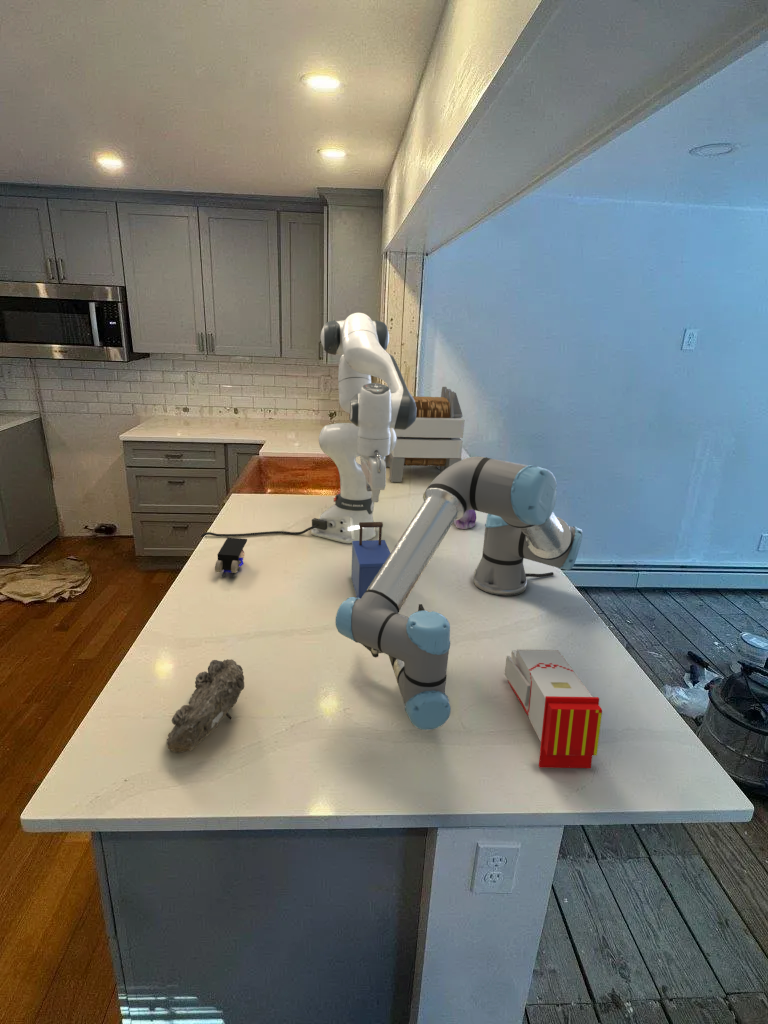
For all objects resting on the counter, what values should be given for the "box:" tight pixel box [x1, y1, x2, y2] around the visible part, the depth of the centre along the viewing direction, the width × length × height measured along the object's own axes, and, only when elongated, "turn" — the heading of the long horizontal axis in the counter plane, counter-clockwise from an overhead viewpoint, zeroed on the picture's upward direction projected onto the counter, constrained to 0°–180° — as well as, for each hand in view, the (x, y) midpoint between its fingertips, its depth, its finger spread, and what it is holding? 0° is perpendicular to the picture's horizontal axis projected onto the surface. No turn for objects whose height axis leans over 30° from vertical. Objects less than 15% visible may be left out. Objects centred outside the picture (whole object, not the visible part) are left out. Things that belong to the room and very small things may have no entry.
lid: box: [351, 521, 391, 567], centre depth 155 cm, size 16×10×8 cm, turn 10°
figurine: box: [453, 510, 477, 530], centre depth 208 cm, size 9×10×15 cm
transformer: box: [384, 386, 465, 483], centre depth 268 cm, size 34×33×41 cm
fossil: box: [166, 658, 245, 754], centre depth 106 cm, size 22×10×15 cm
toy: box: [504, 648, 603, 769], centre depth 111 cm, size 12×13×30 cm
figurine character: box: [214, 537, 248, 578], centre depth 166 cm, size 7×8×15 cm
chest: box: [350, 545, 381, 599], centre depth 158 cm, size 15×10×11 cm, turn 10°
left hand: (372, 496), depth 155 cm, fingers open, 8 cm apart
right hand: (391, 610), depth 131 cm, fingers open, 13 cm apart
